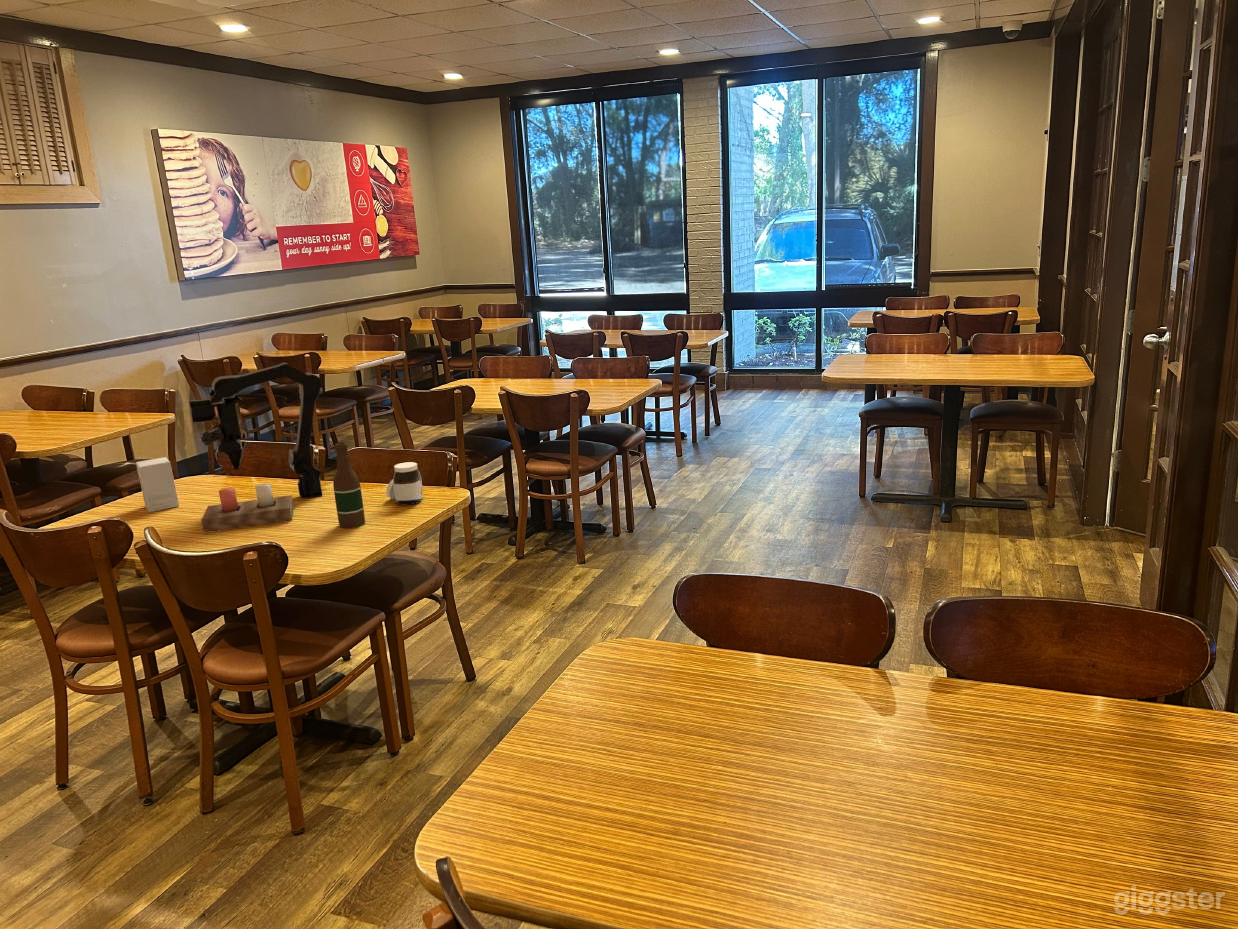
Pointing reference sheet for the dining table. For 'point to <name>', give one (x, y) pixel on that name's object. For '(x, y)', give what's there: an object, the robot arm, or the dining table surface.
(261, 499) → the grey plunger
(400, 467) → the spread jar
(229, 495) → the red plunger
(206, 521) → the press panel
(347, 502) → the beer bottle
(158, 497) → the supplement box
